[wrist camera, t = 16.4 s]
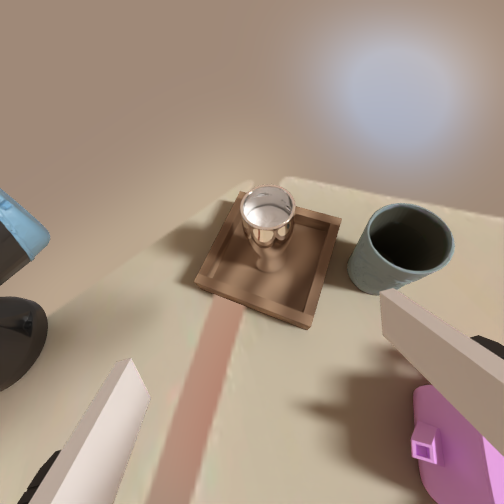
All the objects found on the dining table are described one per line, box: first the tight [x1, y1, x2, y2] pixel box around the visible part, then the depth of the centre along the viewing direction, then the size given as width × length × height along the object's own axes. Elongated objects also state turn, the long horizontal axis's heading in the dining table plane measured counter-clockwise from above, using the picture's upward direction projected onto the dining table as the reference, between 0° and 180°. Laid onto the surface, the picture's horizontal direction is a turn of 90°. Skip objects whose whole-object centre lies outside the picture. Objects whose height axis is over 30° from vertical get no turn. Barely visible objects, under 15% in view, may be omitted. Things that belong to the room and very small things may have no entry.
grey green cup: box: [347, 203, 455, 295], centre depth 34 cm, size 10×10×12 cm
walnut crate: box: [194, 191, 342, 330], centre depth 40 cm, size 19×19×4 cm
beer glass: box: [240, 184, 295, 273], centre depth 34 cm, size 7×7×15 cm
